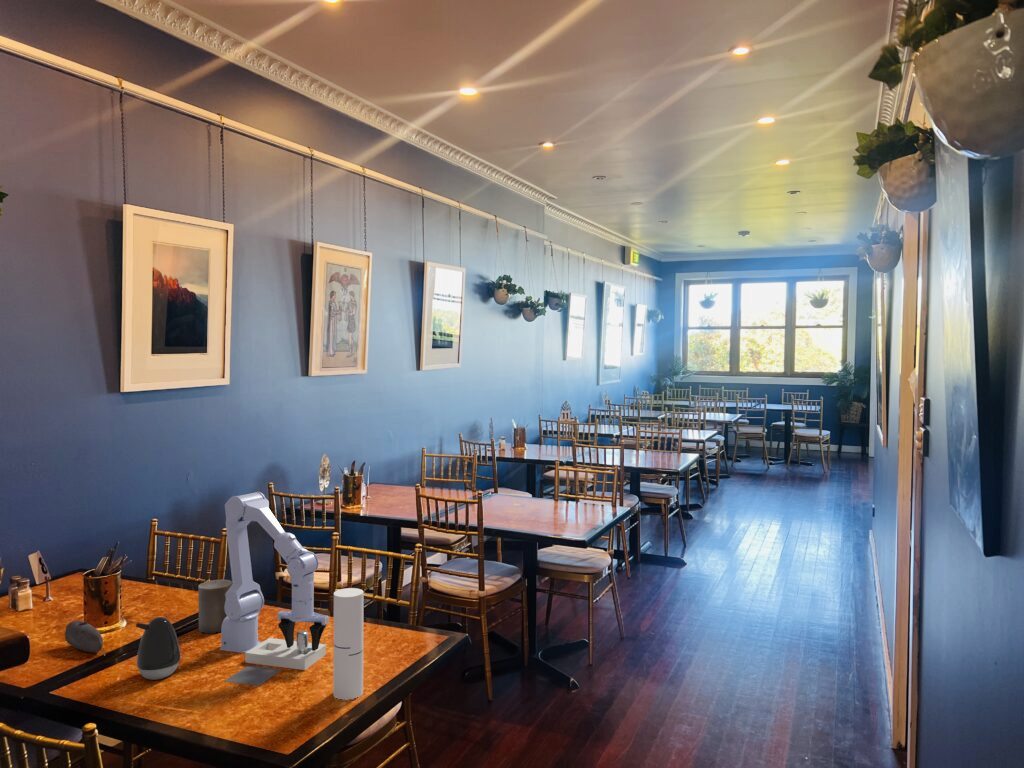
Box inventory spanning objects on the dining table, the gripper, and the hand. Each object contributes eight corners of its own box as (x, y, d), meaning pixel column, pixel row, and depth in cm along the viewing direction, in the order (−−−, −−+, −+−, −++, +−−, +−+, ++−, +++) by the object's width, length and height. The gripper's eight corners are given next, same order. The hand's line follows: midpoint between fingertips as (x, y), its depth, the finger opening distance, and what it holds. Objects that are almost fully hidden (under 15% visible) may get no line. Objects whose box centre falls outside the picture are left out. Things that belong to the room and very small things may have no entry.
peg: (294, 663, 192) (294, 633, 192) (300, 658, 195) (300, 629, 195) (304, 664, 192) (304, 635, 191) (310, 660, 194) (310, 631, 194)
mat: (224, 682, 180) (224, 681, 180) (248, 666, 190) (248, 665, 190) (258, 687, 178) (258, 685, 178) (281, 671, 187) (281, 669, 187)
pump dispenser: (137, 671, 186) (137, 613, 186) (181, 664, 191) (181, 608, 190) (133, 687, 177) (133, 626, 177) (179, 680, 181) (179, 621, 181)
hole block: (245, 663, 192) (245, 652, 192) (269, 648, 202) (269, 637, 202) (304, 671, 187) (305, 660, 187) (326, 655, 198) (326, 644, 198)
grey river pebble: (110, 652, 199) (109, 627, 198) (90, 658, 194) (90, 633, 194) (82, 641, 207) (82, 617, 207) (63, 646, 202) (63, 622, 202)
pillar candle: (239, 626, 219) (239, 578, 219) (210, 636, 211) (210, 585, 211) (219, 620, 224) (219, 573, 224) (191, 630, 216) (191, 580, 216)
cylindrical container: (335, 687, 178) (336, 588, 177) (364, 686, 178) (365, 587, 178) (331, 700, 171) (331, 597, 170) (361, 699, 171) (361, 596, 171)
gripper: (270, 600, 191) (270, 650, 191) (319, 605, 187) (319, 656, 188) (285, 592, 198) (285, 641, 198) (332, 597, 194) (332, 646, 195)
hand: (302, 648), depth 193 cm, fingers open, 7 cm apart
